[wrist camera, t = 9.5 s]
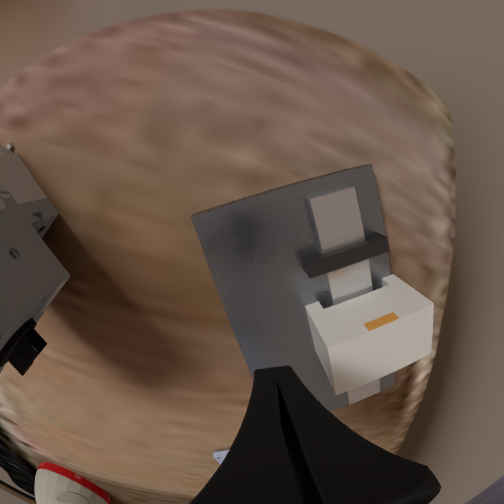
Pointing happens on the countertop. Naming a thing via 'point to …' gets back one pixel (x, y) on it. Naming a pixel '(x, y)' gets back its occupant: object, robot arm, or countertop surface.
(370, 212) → the rail board
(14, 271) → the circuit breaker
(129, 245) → the countertop surface
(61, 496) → the kitchen timer
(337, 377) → the block
